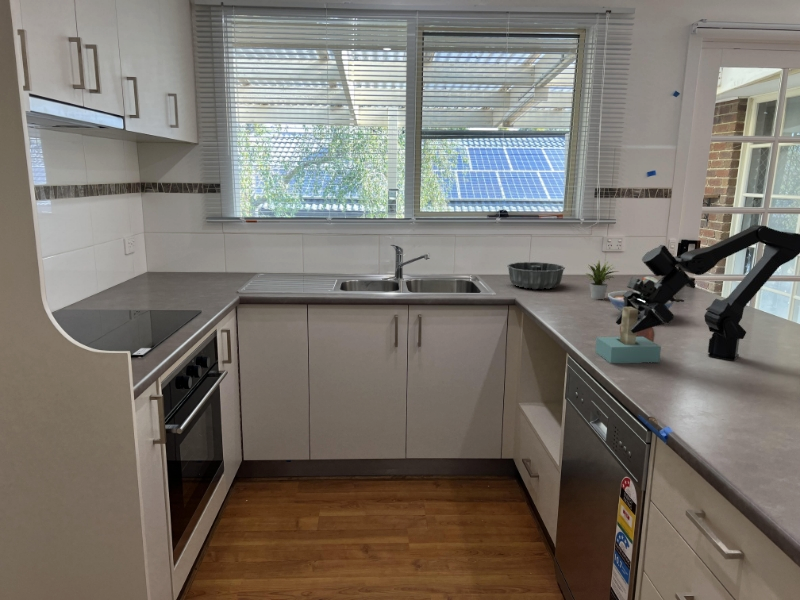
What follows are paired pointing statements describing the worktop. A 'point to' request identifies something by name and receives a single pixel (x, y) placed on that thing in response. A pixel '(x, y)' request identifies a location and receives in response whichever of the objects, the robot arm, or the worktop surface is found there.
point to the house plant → (599, 281)
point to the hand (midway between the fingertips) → (624, 327)
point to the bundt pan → (535, 274)
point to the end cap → (628, 350)
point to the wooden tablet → (644, 333)
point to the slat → (628, 325)
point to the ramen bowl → (619, 302)
